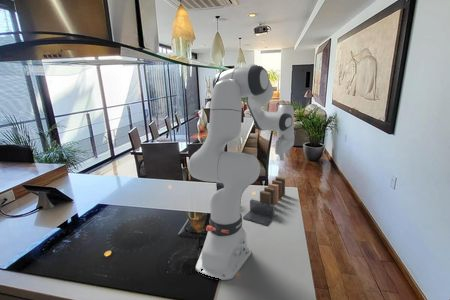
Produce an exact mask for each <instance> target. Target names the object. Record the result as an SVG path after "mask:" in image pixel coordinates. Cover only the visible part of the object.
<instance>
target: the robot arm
mask: <svg viewBox="0 0 450 300" xmlns="http://www.w3.org/2000/svg"><path fill="white" fill-rule="evenodd" d="M269 78H270V77H269V74H268V71H267V70H266V69H265V68H264V67H263V66H262V65H258V64H253V63H251V64H248V65H246V66H241V67H239V66H238V67H233V68H229V69H227V70H221V71H218V72H217V73H216V74H215V75H214V77H213V79H212V88H213V90H212V93H211V100H210V111H209V123H208V132H207V134H206V135H207V136H206V138H205V140H204V142H203V144H202V145H200V146H201V147H200V148H198V149H197V150H196V151H195V152H194V153H192V155H191V156H190V158H189V160H188V171H189V175H191V177H192V178H194V179H197V180H200V181H202V182H209V183H210V182H211V183H217V182H219V183H223V184H224V188H222V189H220V190H218V191H217V190H216V191H215V192H213V193H212V194H211V197H210V198H209V206H210V208H209V209H210V216H209V221H208V223H209V224H208V225H207V226H206V229H205V230H206V231H207V234H206V237H205V240H204V243H203V247H202V249H201V252H200V255H199V257H198V260H197V262H196V264H195V271H196V272H198V273H199V272H200V273H202V274H205V275H208V276H211V277H215V278H219V279H221V281H222V280H223V281H228V280H232V279H233V278H234V277H235V276H236V275H237V273H238V272H239V271H240V270H241V268H242V267H243V265H244V264H245V263H246V261H247V260H248V259H249V258H250V256H251V254H252V250H251V248H250V247H248V239H247V232H246V230H245V229H244V227H243V215H242V211H241V210H242V209H241V203H242V202H241V201H242V196H243V194H244V192H245V190H246V189H247V188H249V187H250V185H252V184H254V183H255V182H256V181H257V180H258V178H259V176H260V175H261V174H260V173H261V164H260V161H259V160H258V158H257V157H256V155H254V154H250V153H249V154H248V153H245V152H241V151H239V152H238V151H225V149H226V145H228V143H231V142H233V141H235V140H237V138H238V137H239V136H240V134H241V131H242V111H243V105H242V104H243V103H242V98H246V101H245V102H246V105H247V106H246V107H247V109H248V110H249V112H250V116H251V117H252V119H253V124H254V126H255V129H257V130H258V131H268V132H269V131H271V132H276V138H277V140H276V142H275V149H274V151H275V152H274V153H275V154H276V155H277V156H279V161H281V162H283V161H284V160H285V157H284V154H285V156H286V157H289V156H290V153H291V149H292V147H294V145H295V139H296V138H295V135H296V130H294V122H295V111H294V110H295V109H294V105H292V104H290V103H286V104H285V103H280V104H278V106H277V110H276V111H274V112H273V111H266V110H265V111H264V110H262V108H261V107H264V106H265V105H267V104H269V103H270V102H271V100H272V99H273V96H274V87H273V85H272V82H271V81H270V79H269ZM201 269H203V270H202V271H201ZM200 273H199V274H200ZM202 274H201V275H202Z"/></svg>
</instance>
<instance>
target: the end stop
mask: <svg viewBox="0 0 450 300" xmlns="http://www.w3.org/2000/svg"><path fill="white" fill-rule="evenodd" d="M275 207H276V206H275V205H273V204H269V203H265V202H261V201H260V200H256V199H250V200H249V211H248V212H247V213H246V214H245V215H244V216H242V220H246V221H248V222H249V221H250V222H253V223H255V224H260V225H262V226H266V227H267V226H268V225H269V224H270V222H271V221H273V219H274V218H275V216H276V215H275V214H276V213H275V211H276V210H275V209H276V208H275Z"/></svg>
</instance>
